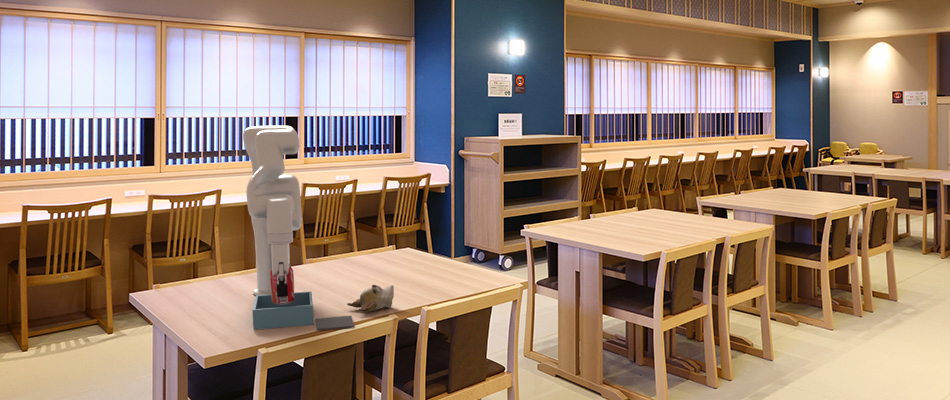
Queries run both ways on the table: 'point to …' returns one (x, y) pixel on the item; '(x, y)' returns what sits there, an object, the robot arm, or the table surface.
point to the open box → (282, 312)
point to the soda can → (290, 284)
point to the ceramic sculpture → (374, 299)
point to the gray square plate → (334, 323)
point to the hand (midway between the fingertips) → (282, 292)
